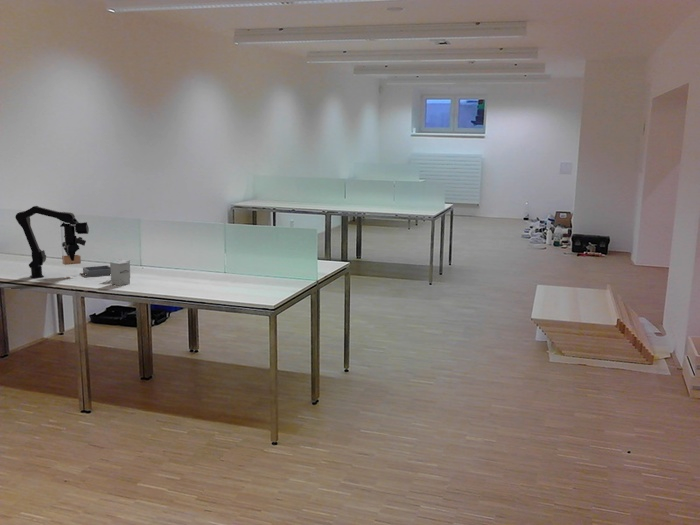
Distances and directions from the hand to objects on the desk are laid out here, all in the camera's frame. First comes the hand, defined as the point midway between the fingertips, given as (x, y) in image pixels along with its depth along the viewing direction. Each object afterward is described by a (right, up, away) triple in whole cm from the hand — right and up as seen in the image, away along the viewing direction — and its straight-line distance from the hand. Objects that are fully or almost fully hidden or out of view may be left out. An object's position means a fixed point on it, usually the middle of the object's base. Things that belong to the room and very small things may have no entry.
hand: (71, 260), depth 374 cm
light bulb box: (+32, -12, -5) cm, 34 cm away
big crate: (+12, -8, +10) cm, 18 cm away
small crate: (0, -2, 0) cm, 2 cm away
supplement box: (+37, -14, -20) cm, 44 cm away
